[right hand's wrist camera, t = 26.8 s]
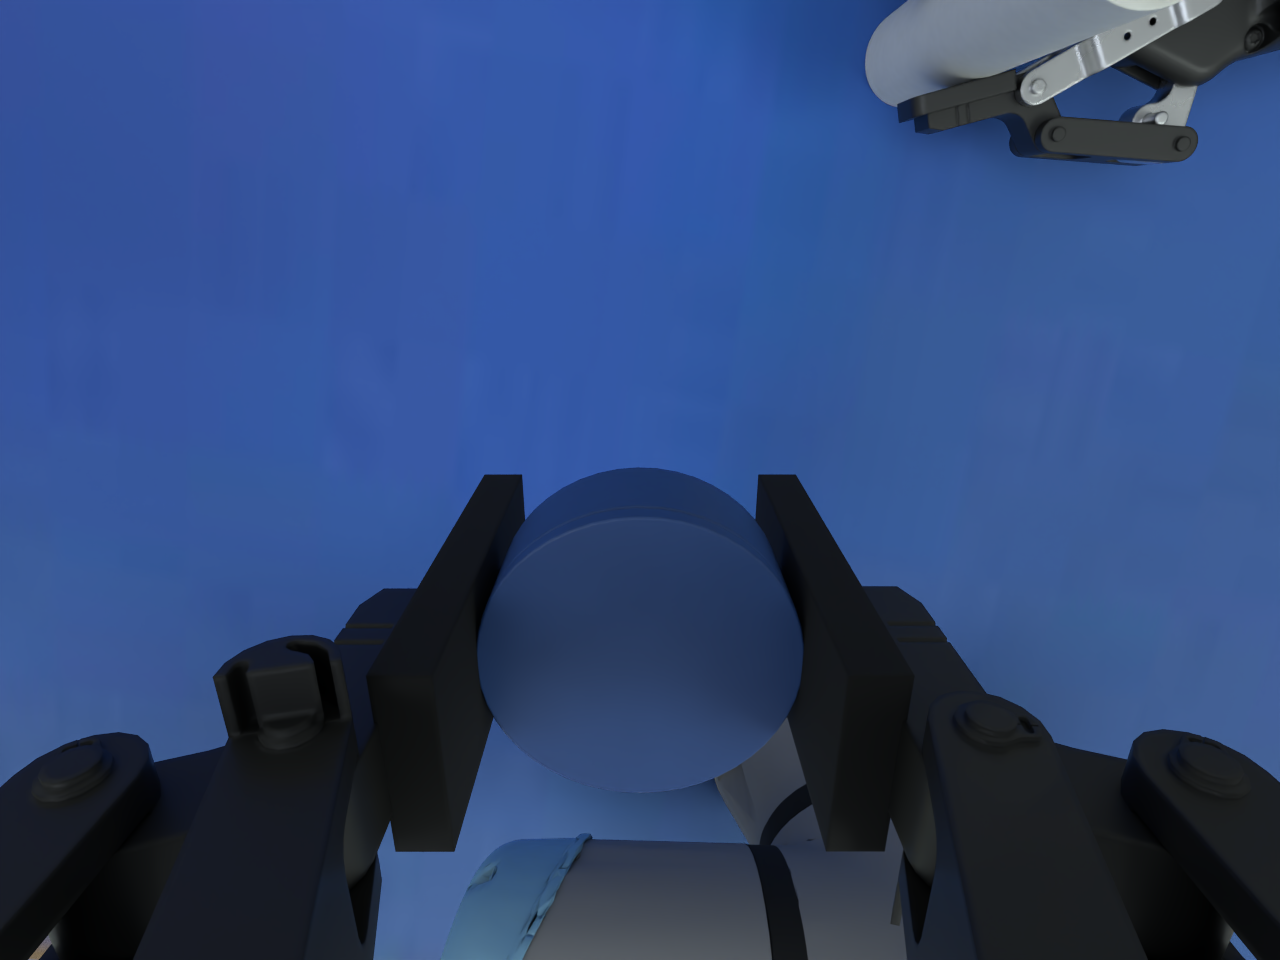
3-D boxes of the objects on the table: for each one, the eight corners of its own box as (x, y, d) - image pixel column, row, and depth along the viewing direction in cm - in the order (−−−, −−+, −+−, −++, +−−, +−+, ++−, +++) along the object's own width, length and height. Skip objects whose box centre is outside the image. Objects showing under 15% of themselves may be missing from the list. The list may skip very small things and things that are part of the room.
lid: (532, 724, 13) (514, 810, 11) (471, 488, 11) (438, 543, 9) (789, 693, 13) (815, 775, 11) (766, 446, 11) (793, 493, 9)
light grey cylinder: (969, 25, 31) (1368, -203, 14) (928, 120, 33) (1247, 17, 16) (888, -8, 31) (1198, -286, 14) (850, 89, 32) (1088, -52, 15)
